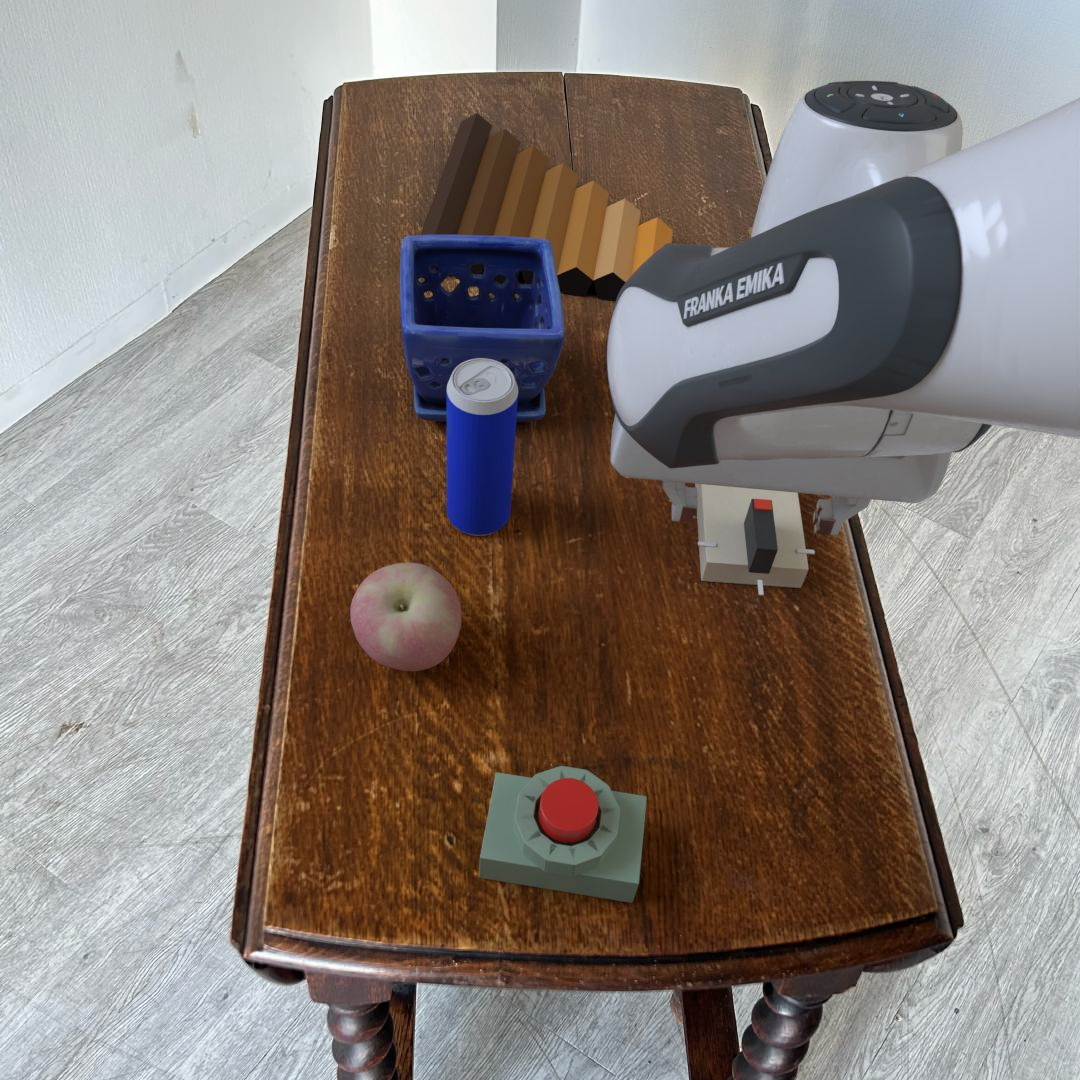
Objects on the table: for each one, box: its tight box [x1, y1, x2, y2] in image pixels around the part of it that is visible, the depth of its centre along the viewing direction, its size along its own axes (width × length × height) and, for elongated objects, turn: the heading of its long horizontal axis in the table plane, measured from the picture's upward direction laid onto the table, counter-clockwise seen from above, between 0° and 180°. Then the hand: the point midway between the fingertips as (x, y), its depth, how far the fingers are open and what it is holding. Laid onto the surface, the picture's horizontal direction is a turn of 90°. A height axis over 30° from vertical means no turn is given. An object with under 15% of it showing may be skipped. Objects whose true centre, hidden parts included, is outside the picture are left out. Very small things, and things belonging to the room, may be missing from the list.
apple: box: [349, 562, 462, 672], centre depth 79 cm, size 8×8×8 cm
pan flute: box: [419, 112, 674, 302], centre depth 117 cm, size 25×3×25 cm
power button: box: [539, 778, 598, 843], centre depth 69 cm, size 4×4×2 cm
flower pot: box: [399, 234, 566, 423], centre depth 96 cm, size 13×13×12 cm
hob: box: [694, 483, 816, 597], centre depth 92 cm, size 21×9×3 cm, turn 178°
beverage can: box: [446, 358, 518, 537], centre depth 85 cm, size 5×5×15 cm
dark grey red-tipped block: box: [744, 499, 778, 574], centre depth 86 cm, size 5×2×3 cm, turn 178°
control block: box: [478, 765, 648, 904], centre depth 71 cm, size 10×6×5 cm, turn 82°
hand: (753, 521), depth 74 cm, fingers open, 8 cm apart
